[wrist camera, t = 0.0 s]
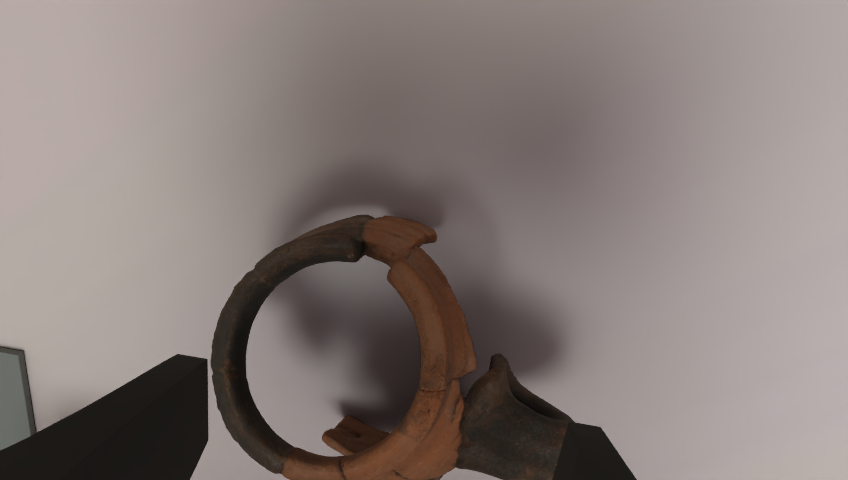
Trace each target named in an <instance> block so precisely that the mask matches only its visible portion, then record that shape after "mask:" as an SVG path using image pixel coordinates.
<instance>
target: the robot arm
mask: <svg viewBox="0 0 848 480" xmlns="http://www.w3.org/2000/svg"><path fill="white" fill-rule="evenodd" d="M207 442H208V368H207V359H203V358H198V357H192V356H186V355H180V354H177V355H175V356H173V357H171V358H169V359H168V360H166V361H164V362H162V363H161V364H159V365H157V366H155V367H154V368H152V369H150V370H149V371H147V372H145V373H143V374H142V375H140V376H138V377H137V378H135V379H133V380H132V381H130V382H128V383H127V384H125V385H123V386H121V387H120V388H118V389H116V390H114V391H113V392H111V393H109V394H107V395H106V396H104V397H102V398H100V399H99V400H97V401H95V402H93V403H92V404H90V405H88V406H86V407H85V408H83V409H81V410H79V411H77V412H75V413H74V414H72V415H70V416H68V417H66V418H64V419H62V420H60V421H58V422H56V423H54V424H52V425H51V426H49V427H47V428H45V429H43V430H41V431H39V432H37V433H35V434H33V435H31V436H30V437H28V438H26V439H24V440H21V441H19V442H17V443H15V444H13V445H11V446H9V447H7V448H5V449H3V450H0V480H190V478H191V476H192V474H193V472H194V470H195V468H196V466H197V463H198V461H199V459H200V457H201V455H202V453H203V450H204V448H205V446H206V444H207ZM552 480H637V479H636V478H635V477H634V475H633V474H632V472H631V471H630V469H629V468H628V466H627V465H626V464H625V462H624V461H623V459H622V458H621V456H620V455H619V453H618V452H617V450H616V449H615V447H614V446H613V445H612V443H611V442H610V440H609V439H608V437H607V436H606V434H605V433H604V432H603V430H602V429H601V427H597V426H591V425H585V424H580V423H574V422H569V423H568V427H567V430H566V434H565V437H564V440H563V444H562V447H561V451H560V454H559V458H558V461H557V465H556V468H555V472H554V475H553V479H552Z"/></svg>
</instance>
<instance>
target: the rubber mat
mask: <svg viewBox="0 0 848 480" xmlns="http://www.w3.org/2000/svg"><path fill="white" fill-rule="evenodd" d="M35 433H36V430H35V424H34V418H33V411H32V405H31V398H30V392H29V385H28V379H27V372H26V366H25V359H24V353H23V351H18V350H12V349H7V348H1V347H0V450H3V449H5V448H7V447H9V446H11V445H13V444H15V443H17V442H19V441H21V440H24V439H26V438H28V437H30V436H31V435H33V434H35Z"/></svg>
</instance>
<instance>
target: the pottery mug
mask: <svg viewBox="0 0 848 480" xmlns="http://www.w3.org/2000/svg"><path fill="white" fill-rule="evenodd" d="M436 239H437V234H436V232H435V230H433V229H431V228H430V227H427V226H425V225H423V224H420V223H417V222H414V221H411V220H408V219H403V218H397V217H392V216H384V217H379V218H375V219H374V218H373V217H372V216H370V215H357V216H354V217H350V218H346V219H342V220H339V221H336V222H333V223H330V224H327V225H324V226H321V227H319V228H316V229H314V230H311V231H309V232H307V233H305V234H303V235H301V236H299V237H298V238H296V239H294V240H293V241H291V242H289V243H286V244H284V245H282V246H280V247H278V248H276V249H274V250H273V251H272V252H271V253H269V254H268V255H266V256H265V257H264V258H263V259H261V260H260V261H259V262H258V263H257V264H256V265H255V268H254V269H253V270H252V271H250V272H248V273H247V274H246V275H245V276H244V277H243V279H242V280H241V281H240V282H239V283H238V284H237V285H236V286H235V287H234V290H233V292H232V294H231V296H230V297H229V299H228V301H227V302H226V304H225V306H224V308H223V309H222V311H221V314H220V317H219V320H218V323H217V327H216V330H215V333H214V339H213V344H212V355H211V368H212V371H213V375H212V380H213V385H214V391H215V395H216V399H217V407H218V409H219V410H220V412H221V415H222V418H223V421H224V423H225V425H226V428H227V429H228V431H229V432H230V434H231V436H232V438H233V439H234V440H235V441H236V442H238V443H239V445H240V446H241V447H242V449H243V450H244V451H245V452H246V453H247V454H248V455H249V456H250V457H251V458H253V459H254V460H255V461H256V462H258V463H259V464H260V465H262V466H263V467H265V468H266V469H267V470H269V471H271V472H273V473H276V474H278V473H280V474H282V475H283V476H284V477H286V478H287V479H290V480H440V479H441V477H442V476H443V475H444V474H446V473H447V472H449V471H451V470H452V469H454V468H455V467H457V468H460V469H469V470H473V471H478V472H482V473H485V474H488V475H491V476H494V477H497V478H500V479H503V480H552V479H553V475H554V472H555V468H556V465H557V461H558V458H559V454H560V451H561V447H562V444H563V440H564V437H565V434H566V430H567V427H568V423H569V422H574V421H573V420H572V419H571V418H570V417H569V416H568V415H566V414H565V413H563V412H562V411H560V410H559V409H557V408H556V407H554V406H552V405H551V404H549V403H548V402H546V401H544V400H543V399H541V398H539V397H538V396H536V395H535V394H533V393H531V392H530V391H529V390H527V389H526V388H525V387H523V386H522V385H521V384H520V383H519V382H518V380H517V379H516V377H515V376H514V374H513V372H512V371H511V369H510V366H509V364H508V361H507V359H506V358H505V357H504V356H503V355H502V354H495V355H493V356H492V357H491V362H490V367H489V371H488V372H487V373H485V375H483V376H482V377H481V378H479V379H478V380H477V381H476V382H475V383H474V384H473V385H472V387H471V388H470V390H469V393H468V396H467V398H465V399H464V400H463V397H462V395H461V392H460V381H459V380H460V379H461V377H462V376H464V375H466V374H468V373H471V372H473V371H475V370H476V369H477V362H476V356H475V353H474V349H473V344H472V341H471V337H470V335H469V332H468V329H467V323H466V320H465V316H464V314H463V312H462V310H461V308H460V306H459V304H458V302H457V300H456V298H455V296H454V294H453V292H452V290H451V287H450V285H449V283H448V281H447V279H446V277H445V276H444V274H443V273H442V271H441V270H440V269H439V267H438V266H437V265H436V263H435V262H434V261H433V260H432V259H431V258H430V257H429V256H428V255H427V254H426V253H425V252H424V251H423V250H422V249H421V248H419V247H420V246H421V245H422V244H427V243H434V242H436ZM364 255H367V256H369V257H371V258H374V259H376V260H379V261H382V262H384V263H385V264H387V265H389V266H390V267H391V268H390V270H389V272H388V275H387V280H388V282H389V283H390V284H391V285H392V286H393V287H394V288H395V289H396V291H397V292H398V293H399V295H400V296H401V297H402V299H403V300H404V302H405V303H406V305H407V306H408V308H409V310H410V311H411V313H412V315H413V318H414V320H415V324H416V327H417V331H418V336H419V340H420V347H421V369H420V378H419V388H418V390H417V393H416V395H415V397H414V399H413V402H412V404H411V406H410V408H409V410H408V412H407V414H406V415H405V416H404V417H403V419H402V420H401V421H400V423H399V424H398V426H397V427H396V428H395V429H394V430H393V431H392V432H391V433H388V432H384V431H380V430H378V429H375V428H373V427H370V426H367V425H365V424H363V423H362V422H360V421H358V420H356V419H355V418H353V417H351V416H346V417H345V418H344V419H343V420H342V421H341V422H340V423H339V424H338V425H337V426H336V427H335V428H334V429H329V430H327V431H326V432H324V434H323V436H322V440H323V441H324V442H325V443H326V444H327V445H328V446H329V447H331V448H333V449H334V450H336V451H338V452H340V453H341V454H343V455H344V456H338V457H327V456H321V455H317V454H313V453H310V452H307V451H305V450H303V449H300V448H295V447H293V446H292V445H290V444H288V443H287V442H286V441H284V440H283V439H282V438H281V437H279V436H278V435H277V434H276V433H275V432H274V431H273V430H272V429H271V428H270V426H269V425H268V424H267V423H266V421H265V420H264V418H263V417H262V416H261V414H260V412H259V411H258V409H257V407H256V405H255V403H254V401H253V398H252V396H251V393H250V390H249V385H248V381H247V378H246V350H247V344H248V338H249V334H250V330H251V326H252V323H253V321H254V319H255V317H256V315H257V313H258V311H259V309H260V307H261V305H262V304H263V302H264V301H265V299H266V298H267V297H268V296H269V294H270V293H271V292H272V291H273V290H274V289H275V287H277V286H278V285H279V284H280V283H281V282H283V281H284V280H286V279H287V278H288V277H290V276H291V275H293V274H294V273H296V272H298V271H299V270H301V269H303V268H306V267H308V266H311V265H314V264H318V263H325V262H332V261H341V262H357V261H359V259H360V258H362V256H364ZM574 423H575V422H574Z"/></svg>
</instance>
